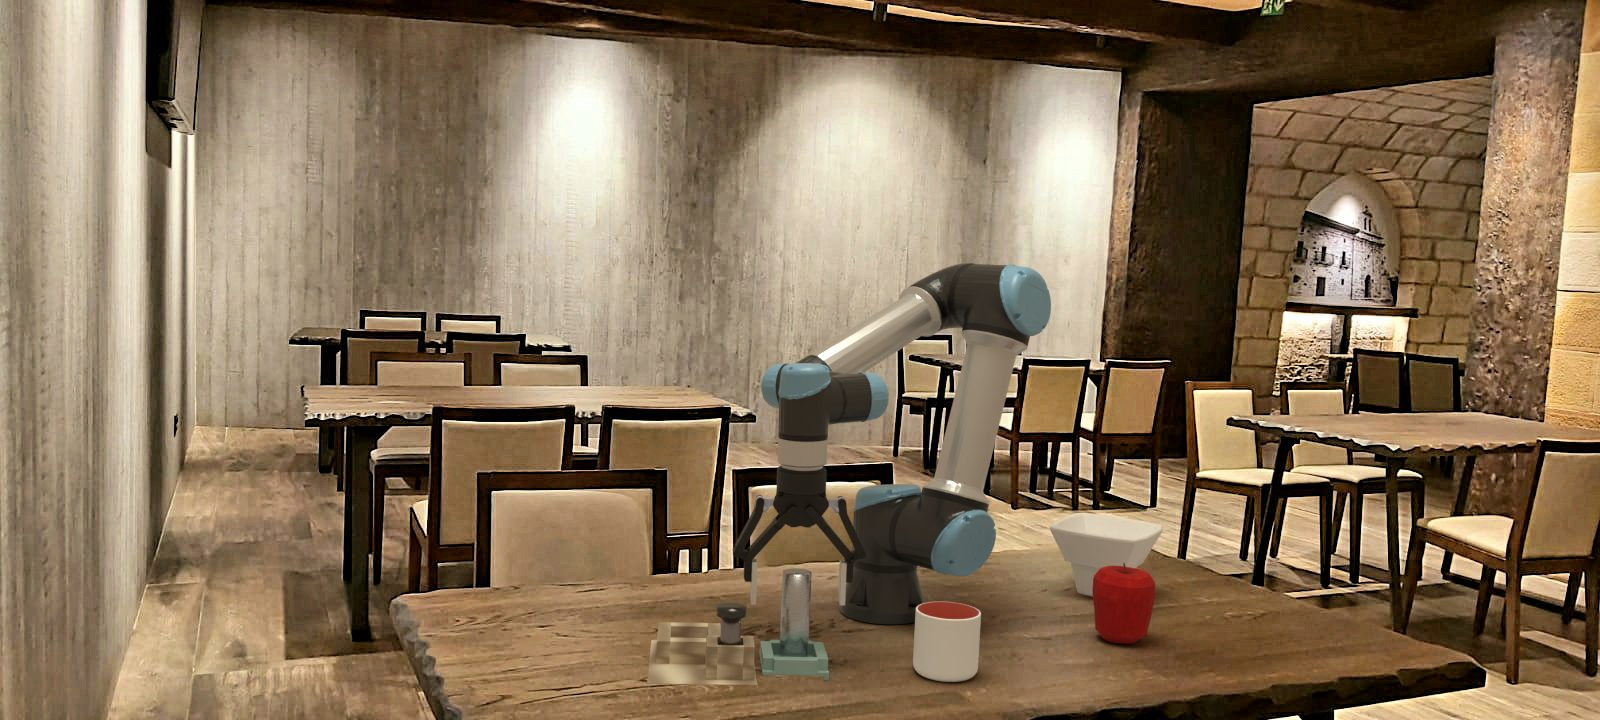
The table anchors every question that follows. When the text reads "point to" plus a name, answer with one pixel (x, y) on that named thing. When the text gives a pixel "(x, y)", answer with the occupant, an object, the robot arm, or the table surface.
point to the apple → (1122, 603)
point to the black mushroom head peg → (731, 622)
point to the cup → (946, 641)
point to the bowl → (1102, 544)
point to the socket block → (699, 656)
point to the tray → (793, 660)
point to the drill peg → (795, 613)
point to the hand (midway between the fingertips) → (797, 602)
